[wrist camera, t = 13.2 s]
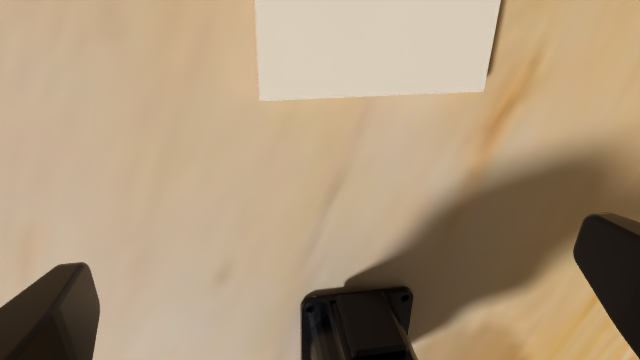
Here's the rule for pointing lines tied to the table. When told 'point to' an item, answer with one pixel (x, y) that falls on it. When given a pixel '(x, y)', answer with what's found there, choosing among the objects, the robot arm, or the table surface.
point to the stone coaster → (372, 47)
